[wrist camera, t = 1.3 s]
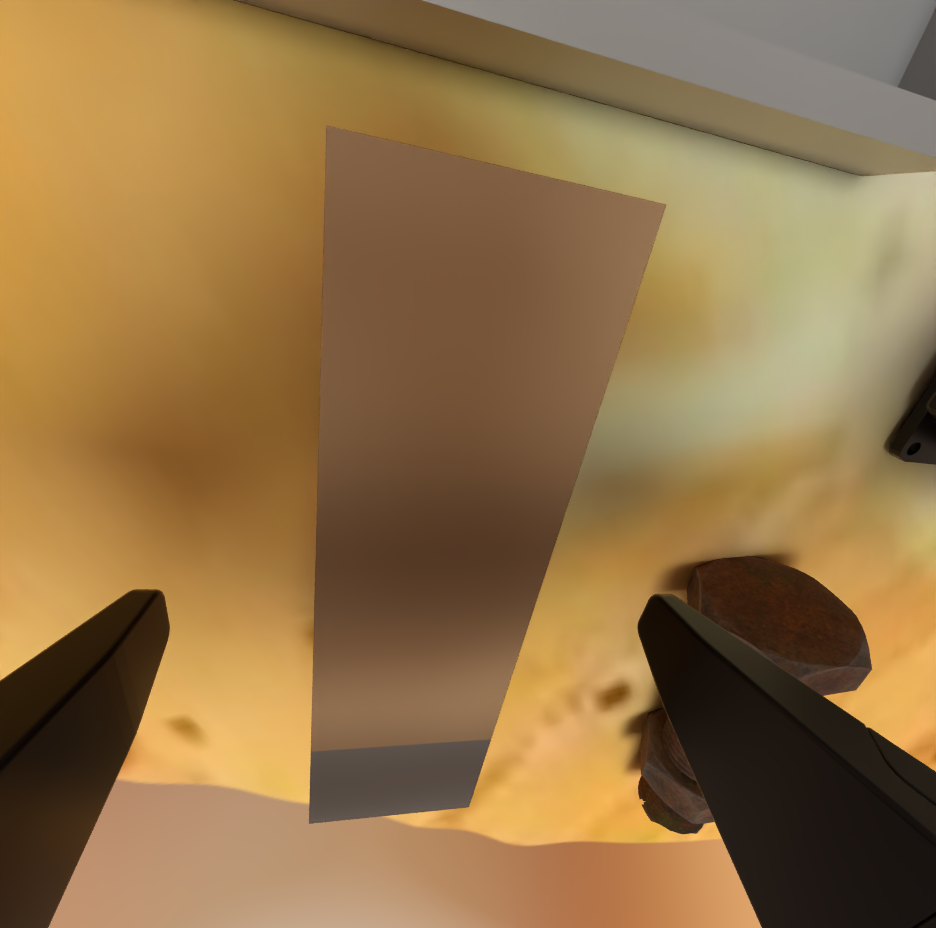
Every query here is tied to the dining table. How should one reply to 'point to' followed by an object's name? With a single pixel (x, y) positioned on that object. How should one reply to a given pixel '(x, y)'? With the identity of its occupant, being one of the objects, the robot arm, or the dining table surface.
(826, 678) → the bolt
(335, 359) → the brown rectangular block
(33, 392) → the dining table surface
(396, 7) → the tray
